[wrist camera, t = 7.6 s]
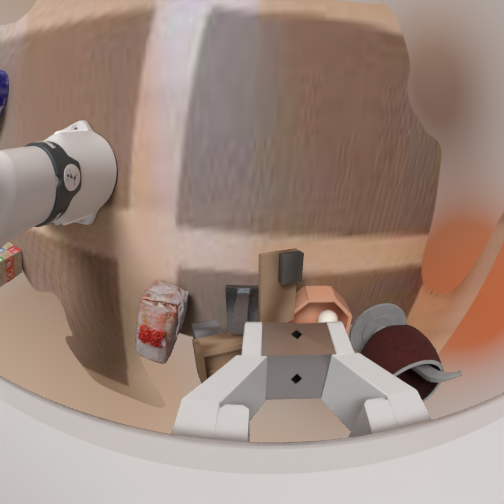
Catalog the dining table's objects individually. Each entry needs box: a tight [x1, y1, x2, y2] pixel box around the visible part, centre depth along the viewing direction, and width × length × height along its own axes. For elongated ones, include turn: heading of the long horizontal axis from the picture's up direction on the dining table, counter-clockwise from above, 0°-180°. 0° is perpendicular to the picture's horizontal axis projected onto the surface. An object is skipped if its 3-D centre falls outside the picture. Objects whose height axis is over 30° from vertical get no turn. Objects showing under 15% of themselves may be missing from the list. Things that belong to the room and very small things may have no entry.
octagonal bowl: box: [284, 286, 352, 335], centre depth 47 cm, size 11×11×4 cm
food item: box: [135, 280, 189, 364], centre depth 45 cm, size 14×8×10 cm, turn 163°
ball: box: [317, 310, 338, 323], centre depth 47 cm, size 4×4×4 cm
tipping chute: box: [191, 249, 304, 383], centre depth 39 cm, size 15×18×8 cm
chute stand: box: [226, 285, 259, 335], centre depth 44 cm, size 6×11×11 cm, turn 0°
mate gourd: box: [350, 303, 462, 402], centre depth 40 cm, size 16×14×20 cm
